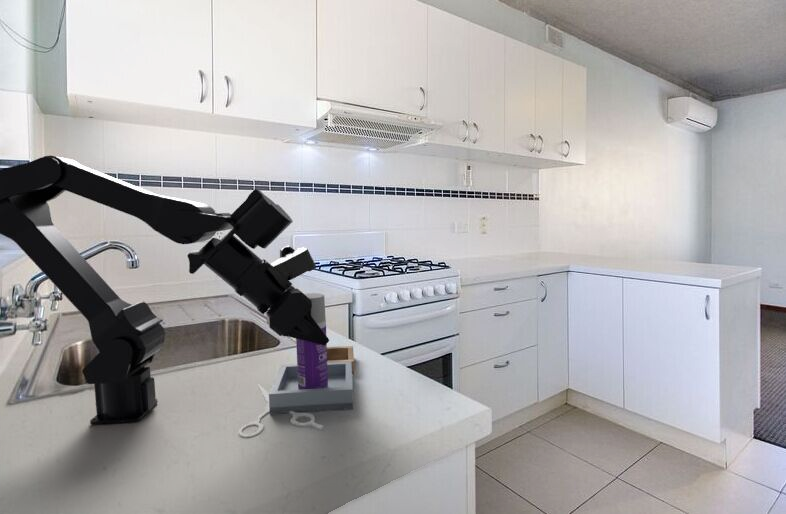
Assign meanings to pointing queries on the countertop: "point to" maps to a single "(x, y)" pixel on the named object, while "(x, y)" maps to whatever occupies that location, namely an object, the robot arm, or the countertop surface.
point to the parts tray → (312, 391)
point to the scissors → (257, 422)
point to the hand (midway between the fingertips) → (319, 334)
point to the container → (313, 351)
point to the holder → (341, 355)
